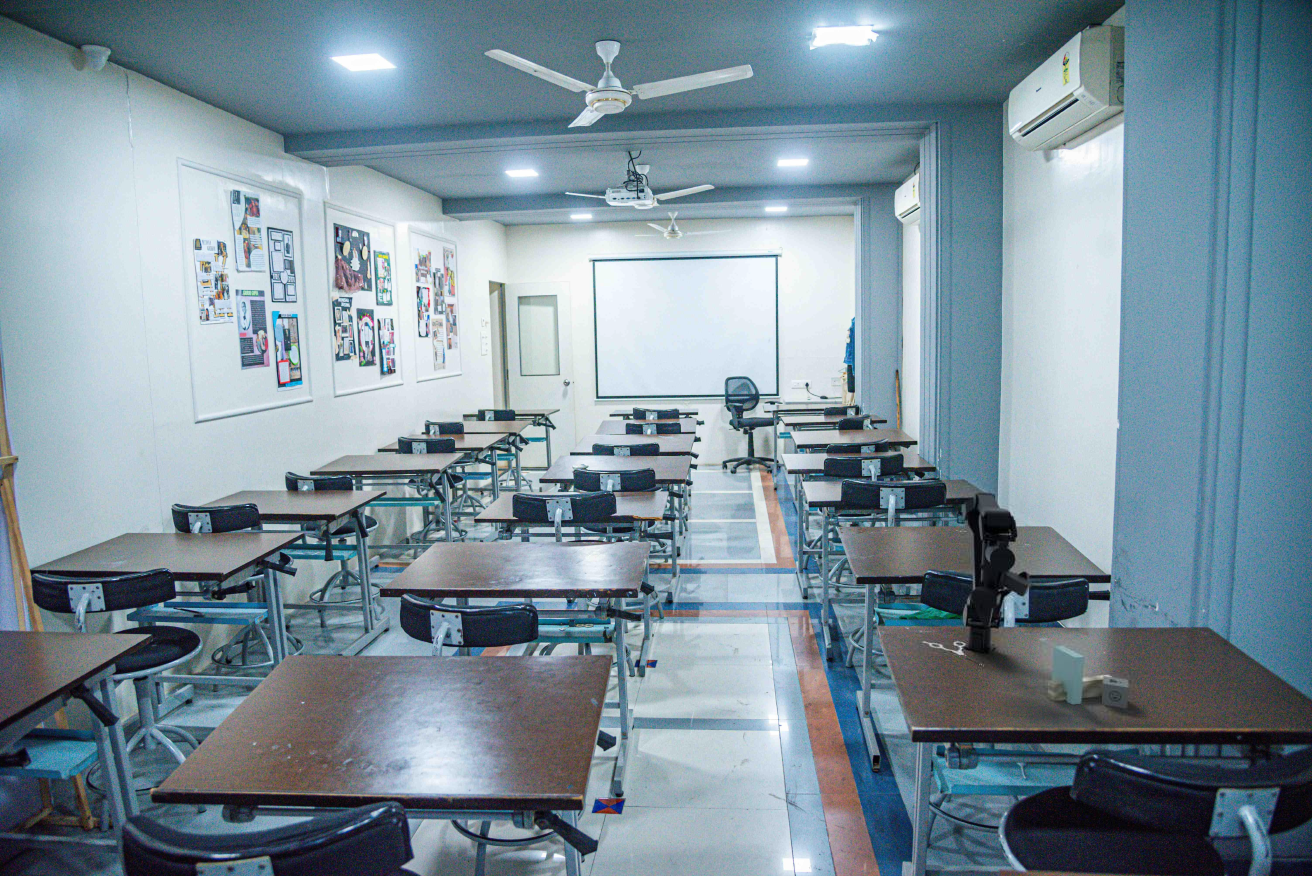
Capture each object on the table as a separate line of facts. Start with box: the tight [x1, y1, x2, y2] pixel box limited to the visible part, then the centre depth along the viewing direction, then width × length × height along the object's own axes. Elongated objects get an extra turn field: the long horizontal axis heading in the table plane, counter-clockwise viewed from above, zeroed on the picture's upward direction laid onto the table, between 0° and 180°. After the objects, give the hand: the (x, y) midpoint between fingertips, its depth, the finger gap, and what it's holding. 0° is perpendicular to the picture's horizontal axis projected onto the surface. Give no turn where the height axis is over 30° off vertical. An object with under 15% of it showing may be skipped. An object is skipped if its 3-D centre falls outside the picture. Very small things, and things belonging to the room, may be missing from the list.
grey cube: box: [1101, 676, 1129, 710], centre depth 195 cm, size 5×5×5 cm
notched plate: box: [1051, 645, 1085, 705], centre depth 197 cm, size 7×2×11 cm, turn 13°
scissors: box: [922, 640, 983, 666], centre depth 225 cm, size 11×1×20 cm
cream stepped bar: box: [1047, 674, 1112, 702], centre depth 199 cm, size 16×2×4 cm, turn 104°
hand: (991, 622), depth 214 cm, fingers open, 9 cm apart
